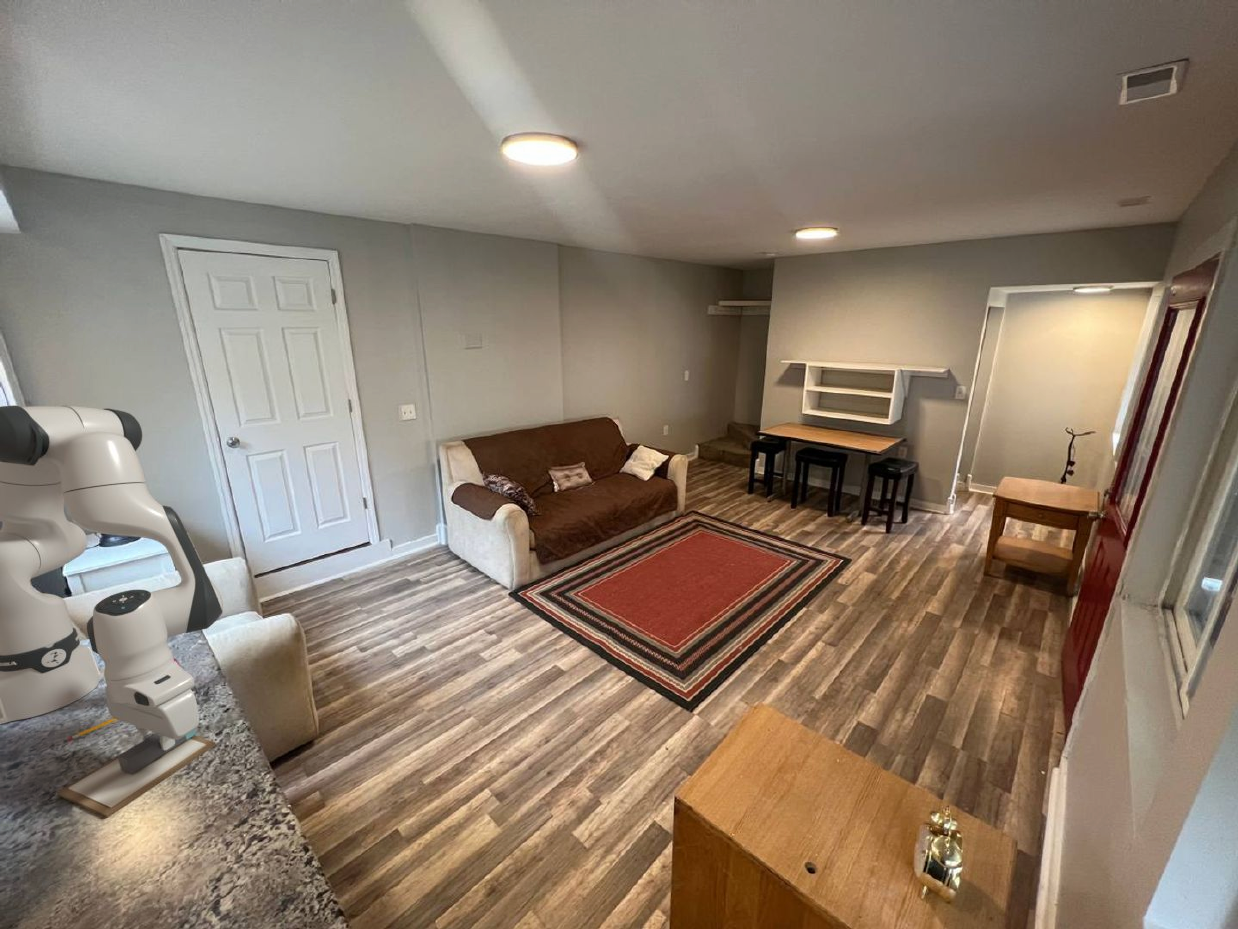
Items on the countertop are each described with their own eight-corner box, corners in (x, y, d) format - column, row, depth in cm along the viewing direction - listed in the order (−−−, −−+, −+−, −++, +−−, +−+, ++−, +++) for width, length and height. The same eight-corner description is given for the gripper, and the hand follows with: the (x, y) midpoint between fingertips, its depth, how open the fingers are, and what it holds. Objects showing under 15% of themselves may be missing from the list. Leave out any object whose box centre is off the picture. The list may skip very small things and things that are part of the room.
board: (57, 795, 82) (56, 791, 82) (169, 729, 97) (168, 725, 97) (106, 818, 77) (105, 814, 77) (215, 745, 92) (214, 741, 92)
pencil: (67, 741, 94) (66, 738, 94) (191, 686, 110) (190, 684, 110) (68, 742, 94) (67, 739, 94) (192, 688, 110) (192, 685, 110)
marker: (121, 770, 85) (117, 756, 85) (186, 730, 95) (183, 717, 94) (131, 774, 84) (127, 760, 84) (196, 733, 94) (193, 720, 93)
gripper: (86, 679, 87) (104, 744, 90) (157, 702, 80) (174, 771, 83) (130, 659, 93) (146, 720, 96) (199, 679, 86) (214, 744, 89)
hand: (160, 744), depth 89 cm, fingers closed on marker, 3 cm apart
